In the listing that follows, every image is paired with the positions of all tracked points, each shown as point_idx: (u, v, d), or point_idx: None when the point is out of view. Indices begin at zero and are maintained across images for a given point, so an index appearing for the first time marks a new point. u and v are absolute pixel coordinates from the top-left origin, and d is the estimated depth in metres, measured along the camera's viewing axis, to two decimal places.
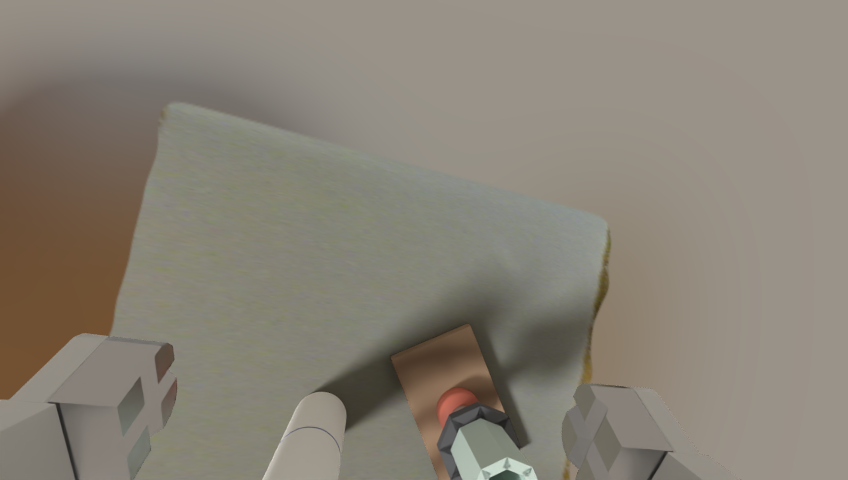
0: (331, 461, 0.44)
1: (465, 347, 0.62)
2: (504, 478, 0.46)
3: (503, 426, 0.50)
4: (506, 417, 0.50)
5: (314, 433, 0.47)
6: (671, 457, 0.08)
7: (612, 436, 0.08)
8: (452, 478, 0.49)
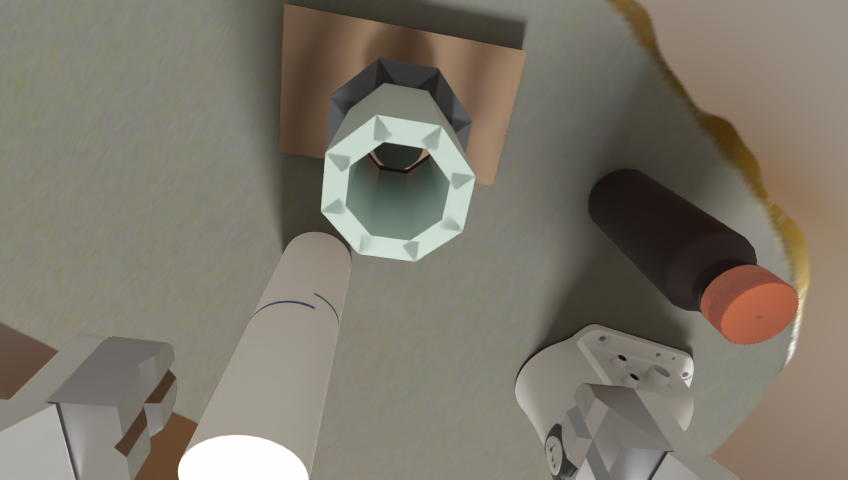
0: (266, 344, 0.30)
1: (314, 34, 0.36)
2: None
3: (387, 78, 0.26)
4: (375, 63, 0.25)
5: (250, 325, 0.33)
6: (671, 457, 0.08)
7: (612, 436, 0.08)
8: None
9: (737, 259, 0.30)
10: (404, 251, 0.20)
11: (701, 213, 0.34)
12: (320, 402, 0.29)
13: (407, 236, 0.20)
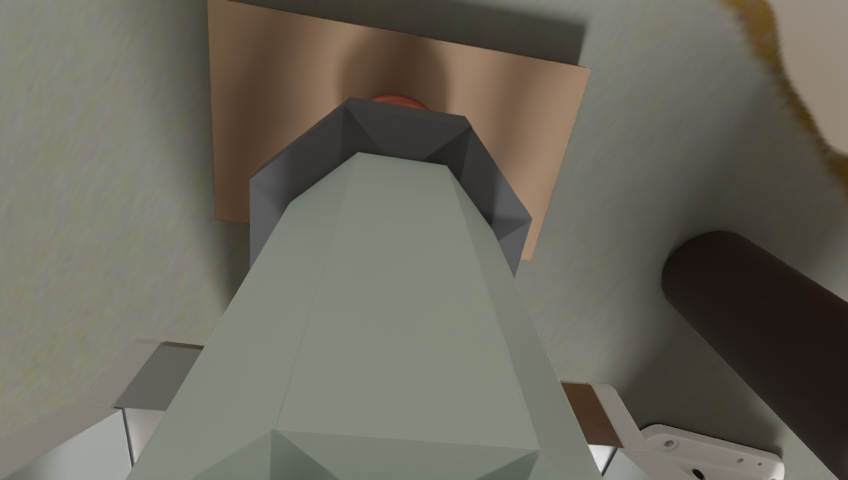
0: None
1: (258, 46, 0.23)
2: None
3: (364, 143, 0.13)
4: (339, 114, 0.12)
5: None
6: (621, 453, 0.07)
7: None
8: None
9: None
10: None
11: None
12: None
13: None
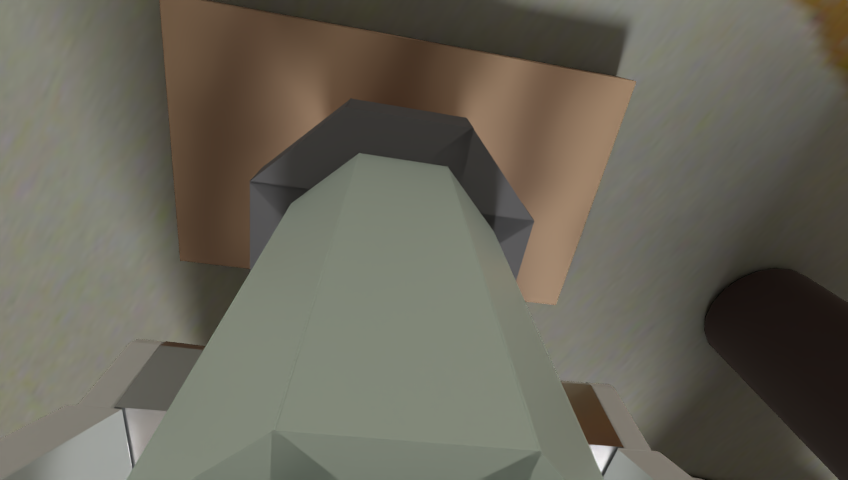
0: None
1: (225, 54, 0.18)
2: None
3: (365, 145, 0.12)
4: (340, 116, 0.12)
5: None
6: (621, 453, 0.07)
7: None
8: None
9: None
10: None
11: None
12: None
13: None
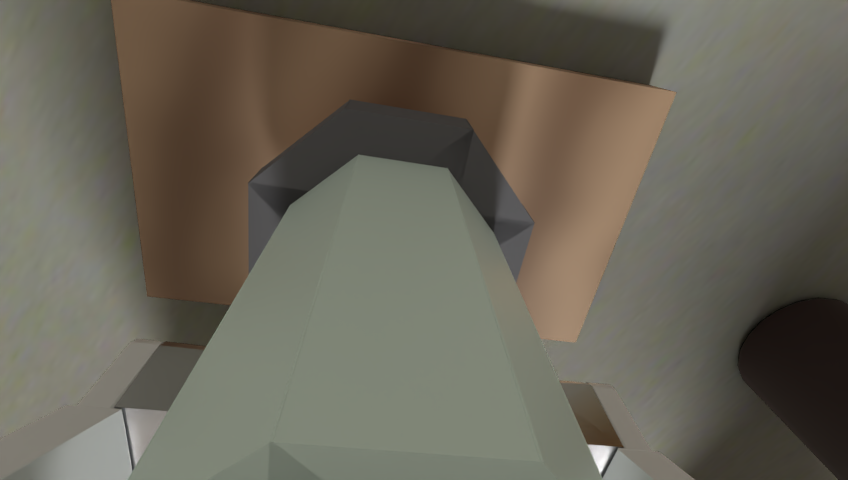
0: None
1: (192, 61, 0.15)
2: None
3: (364, 147, 0.12)
4: (339, 117, 0.12)
5: None
6: (621, 453, 0.07)
7: None
8: None
9: None
10: None
11: None
12: None
13: None
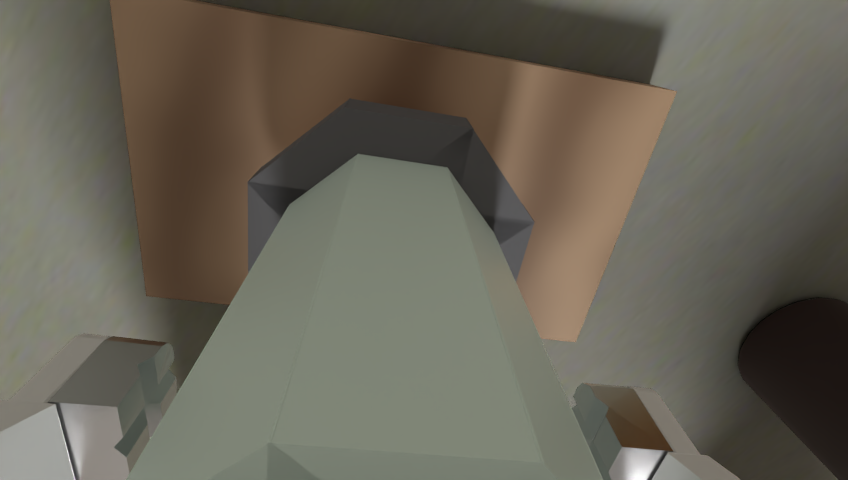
0: None
1: (191, 60, 0.15)
2: None
3: (364, 146, 0.12)
4: (338, 116, 0.12)
5: None
6: (671, 457, 0.08)
7: (612, 436, 0.08)
8: None
9: None
10: None
11: None
12: None
13: None
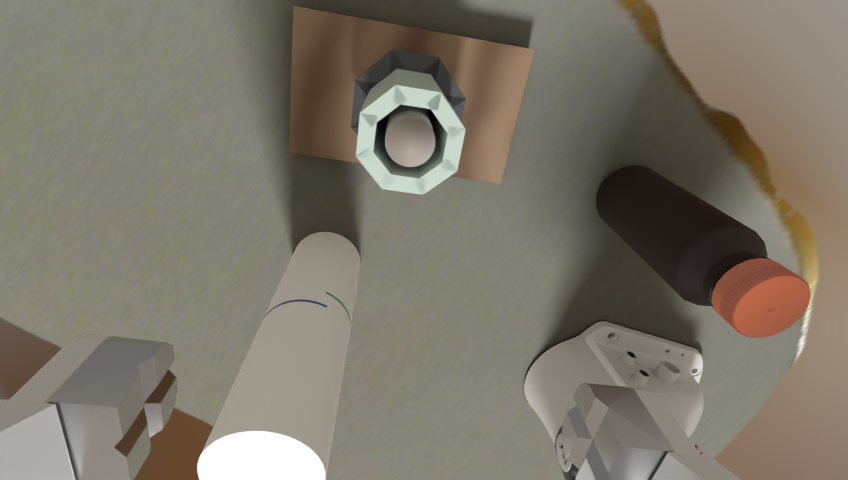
0: (280, 342, 0.30)
1: (323, 36, 0.36)
2: None
3: (399, 65, 0.33)
4: (390, 53, 0.33)
5: (263, 324, 0.34)
6: (671, 457, 0.08)
7: (612, 436, 0.08)
8: None
9: (748, 253, 0.30)
10: (415, 186, 0.27)
11: (710, 208, 0.34)
12: (335, 399, 0.30)
13: (417, 176, 0.28)
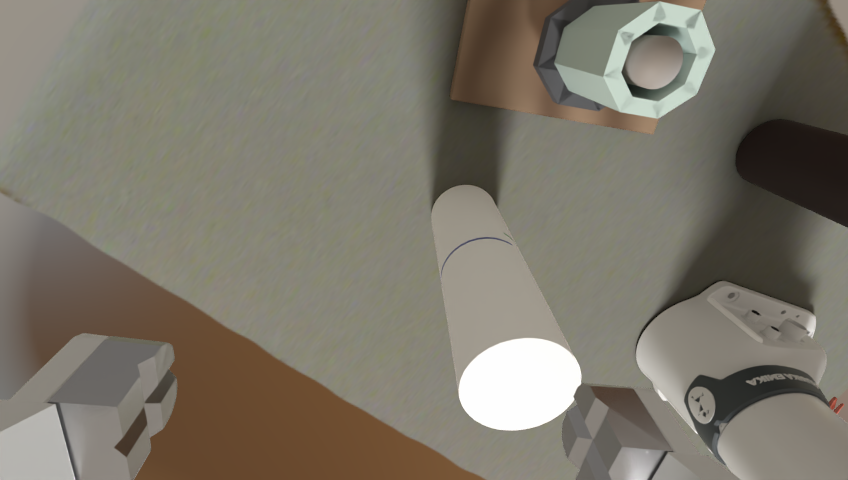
0: (497, 270, 0.31)
1: None
2: None
3: (596, 2, 0.33)
4: None
5: (457, 259, 0.34)
6: (671, 457, 0.08)
7: (612, 436, 0.08)
8: (598, 108, 0.37)
9: None
10: (652, 110, 0.28)
11: None
12: None
13: (652, 100, 0.28)
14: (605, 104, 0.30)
